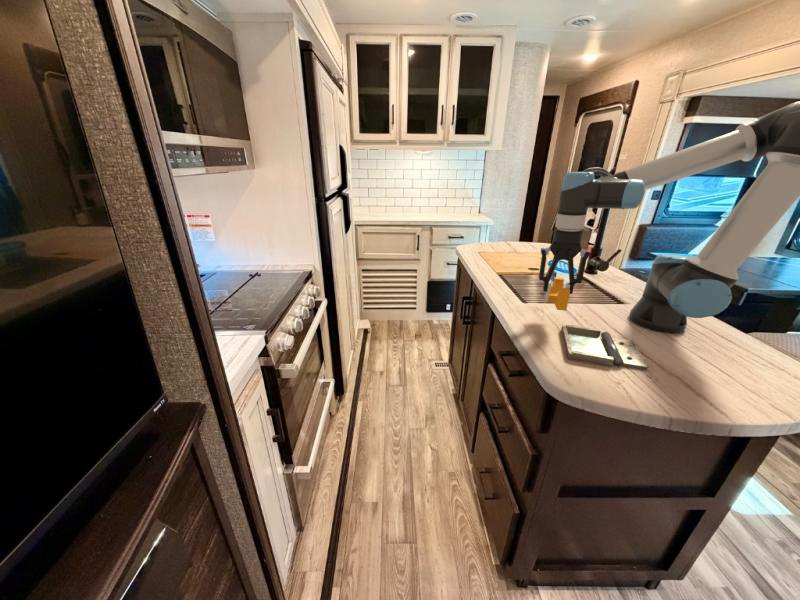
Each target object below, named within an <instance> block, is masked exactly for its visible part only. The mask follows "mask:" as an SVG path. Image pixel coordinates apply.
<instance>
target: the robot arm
mask: <svg viewBox="0 0 800 600" xmlns="http://www.w3.org/2000/svg"><path fill="white" fill-rule="evenodd" d="M764 157H765V158H766V159H767V165H766V166H765V167H764V168H763V170H762V171H761V173H759V175H758V176H757V178H756V179H755V180H754V182H753V183H752V184H751V186H750V187H749V188H748V189H747V191H746V192H745V193H744V194H743V196H742V197H741V199H739V201H738V202H737V203H736V205H735V206H734V207H733V209H731V212H730V213H729V214H728V215H727V216H726V218H725V219H724V221H723V222H722V223H721V225H720V226H719V227H718V228H717V230H715V232H714V233H713V235H712V236H711V237H710V239H709V240H708V241H707V243H706V244H705V245H704V246H703V248H702V249H701V250H700V251H699V253H698V254H696V255H695V256H687V255H679V254H677V255H676V254H658V255H657V256H655V258H654V261H653V262H652V264H651V268H650V272H649V275H648V277H647V281H646V283H645V286H644V289H643V293H642V296H641V298H640V299H638V301H637V302H636V304H634V306H633V307H632V308H631V310H630V313H629V315H628V318H629V320H630V321H631V322H632V323H633V324H636V325H637V326H639V327H642V328H643V329H646V330H649V331H653V332H657V333H662V334H670V335H671V334H673V335H674V334H677V335H678V334H681V333H683V332H685V330H686V328H687V325H688V318H693V319H704V318H707V317H712V316H716V315H718V314H720V313H721V312H723V311H725V309H727V308H728V307H729V305H730V304H731V302H732V299H733V296H732V289H731V288H732V287H733V286H734V285H735V283H736V282H737V281H738V280H739V274H738V269H739V268H740V266H741V265H742V264H743V263H744V262H745V261H746V260H747V258H748V257H749V256H750V255H751V253H753V251H754V250H755V249H756V248H757V247H758V246H759V244H760V243H761V242H762V241H763V240H764V238H766V237H767V235H768V233H769V232H771V230H772V229H773V228H774V226H776V224H777V223H778V222H779V221H780V220H781V219H782V217H784V215H785V214H786V213H787V211H788V210H789V209H790V208H791V207H792V205H793V204H795V203H796V201H797V200H798V199H799V198H800V100H799V101H795V102H793V103H790V104H787V105H786V106H784V107H781V108H779V109H776V110H773V111H772V112H769V113H767V114H765V115H762V116H759V117H757V118H755V119H752V120H750V121H746V122H744V123H742V124H739V125H738V126H737V127H736V128H735V130H733V131H731V132H728V133H725V134H723V135H720V136H716V137H714V138H711V139H708V140H706V141H704V142H699V143H698V144H697V143H696V144H695V145H691V146H689V147H687V148H683V149H680V150H678V151H675V152H672V153H670V154H666V155H664V156H661V157H658V158H656V159H652V160H650V161H647V162H645V163H642V164H638V165H637V166H634V167H630V168H628V169H625V170H623V171H620V172H617V173H613V174H611V175H604V176H601V177H598V178H596V179H595V173H594V172H593V171H570V172H567V173H566V174H564V175H563V179H562V184H561V189H560V195H559V200H558V207H557V214H556V221H555V225H554V226H555V228H554V231H553V236H552V242H551V244H550V245H549V247H547V246H546V247H541V248H540V254H541V257H540V258H541V260H540V266H539V267H540V268H539V274H538V279H539V280H540V281H542V282H543V287H542V289H543V293H544V292H545V298H544V301H545V303H547V304H548V303H549V302H548V300H549V294H550V289H551V286H552V281H551V279H552V276H553V275H554V271H555V269H556V267H557V265H558V264H559V262H560V261H567V270H568V280H569V281H567V282H565V286H564V287H565V288H569V289H570V295H572V294H573V292H574V286H575V285H577V284H582V283H583V278H584V274H585V273H584V272H585V270H586V264H587V260H588V259H589V257H590V255H591V252H590V251H589V249H584V248H582V245H581V244H582V243H581V242H582V238H583V233H584V231H583V230H582V229H584V228H585V223H586V217H587V213H588V209H617V210H622V211H623V210H630V209H631V210H633V209H636V208H638V207H639V206H640V205H641V203H642V201H643V199H644V196H645V191H648V190H650V189H653V188H656V187H659V186H664V185H666V184H670V183H673V182H675V181H679V180H682V179H685V178H688V177H691V176H694V175H697V174H700V173H703V172H706V171H709V170H713V169H715V168H719V167H722V166H725V165H729V164H731V163H734V162H737V161H743V162H750V161H753V160H756V159H759V158H764ZM550 252H551V254H552V255H553V258H552V260H551V263H550V265H549V267H548V270H547V272H546V274H545V270H546V265H547V264H546V263H547V256H548V255H549V253H550ZM579 253H580V260H579V265H578V267H577V268H578V269H577V273H576V277H575V270H574V258H575V257H576V256H578V254H579Z"/></svg>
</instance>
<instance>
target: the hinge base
mask: <svg viewBox="0 0 800 600" xmlns="http://www.w3.org/2000/svg"><path fill="white" fill-rule="evenodd" d="M560 331H561V336H562V340H563V346H564V351H565V354H566V359H567V360H568V361H574V362H581V363H585V364H591V365H597V366H603V367H608V368H612V366H615V367H626V368H632V369H637V370H642V371H643V370H644V371H648V369H649V366H648V364H647V362H646V361H645V358H644V357H643V356H642V355H641V353H640V351H639V349H638V348H637V345H636V344H635V342H634V340H630V339H623V338H617V337H612V335H611V334H610V332H608V331H603V332H602V330H601V329H600V328H594V327H593V328H592V327H586V326H579V325H571V324H564V325H563V324H562V326H561V329H560Z"/></svg>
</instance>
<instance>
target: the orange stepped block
mask: <svg viewBox="0 0 800 600" xmlns="http://www.w3.org/2000/svg"><path fill="white" fill-rule="evenodd" d="M564 282H565V279H564V277H560V276H559V277H558V276H554V277H553V282H552V285H551V289H550V294H549V300H548V303H552V304H553V303H554V305H555V306H554V307H555V308H556V310H557V311H565V312H566V311H567V309H568V304H569V299H570V295H571V294H570V289H569V288H564Z"/></svg>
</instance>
